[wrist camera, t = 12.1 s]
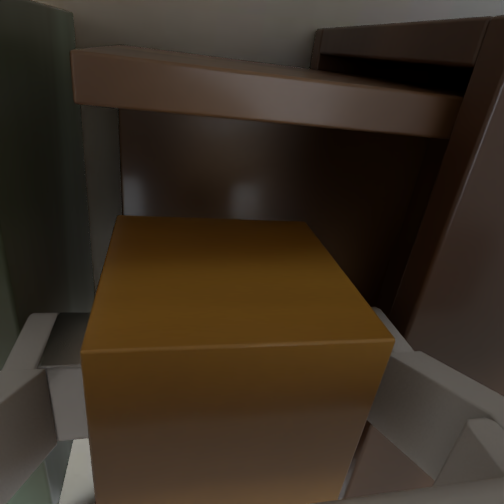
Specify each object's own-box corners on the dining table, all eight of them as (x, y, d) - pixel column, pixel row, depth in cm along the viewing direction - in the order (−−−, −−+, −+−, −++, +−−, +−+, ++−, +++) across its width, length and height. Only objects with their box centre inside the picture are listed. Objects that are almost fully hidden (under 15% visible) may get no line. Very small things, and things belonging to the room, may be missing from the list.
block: (116, 214, 9) (78, 352, 5) (305, 220, 10) (397, 339, 6) (123, 364, 11) (99, 546, 7) (278, 357, 12) (334, 512, 8)
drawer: (-52, 339, 16) (-207, 553, 9) (-158, -21, 11) (-731, -129, 4) (368, 327, 20) (468, 468, 14) (451, 66, 15) (689, 87, 8)
